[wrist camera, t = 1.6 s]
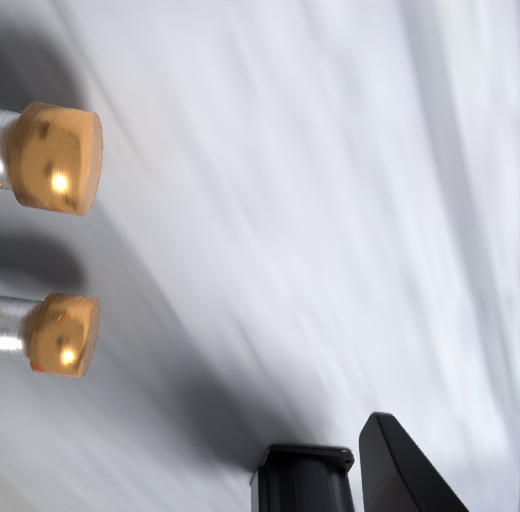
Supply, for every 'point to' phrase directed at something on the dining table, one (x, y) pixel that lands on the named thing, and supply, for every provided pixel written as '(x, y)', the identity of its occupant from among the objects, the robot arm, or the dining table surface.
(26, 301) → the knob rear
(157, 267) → the dining table surface
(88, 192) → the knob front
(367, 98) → the dining table surface
